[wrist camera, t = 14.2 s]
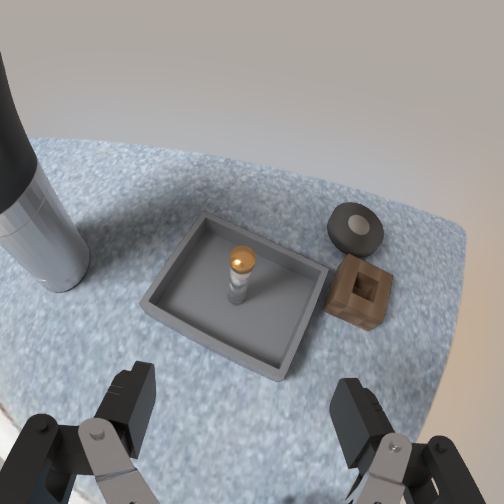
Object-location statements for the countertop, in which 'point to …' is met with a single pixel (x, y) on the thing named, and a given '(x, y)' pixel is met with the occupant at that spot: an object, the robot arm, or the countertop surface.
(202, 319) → the tray
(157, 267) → the countertop surface
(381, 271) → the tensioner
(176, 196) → the countertop surface
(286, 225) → the countertop surface
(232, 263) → the lock pin
